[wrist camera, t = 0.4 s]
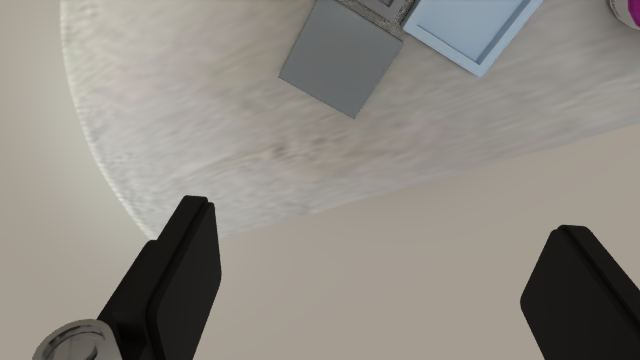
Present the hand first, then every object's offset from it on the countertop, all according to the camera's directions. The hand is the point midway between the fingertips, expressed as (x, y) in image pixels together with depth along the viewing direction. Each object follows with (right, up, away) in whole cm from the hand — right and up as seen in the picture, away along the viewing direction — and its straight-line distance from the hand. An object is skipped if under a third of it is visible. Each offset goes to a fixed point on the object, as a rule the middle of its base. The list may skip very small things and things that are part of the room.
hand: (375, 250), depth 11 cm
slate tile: (0, +13, +24) cm, 27 cm away
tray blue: (+11, +16, +21) cm, 29 cm away
